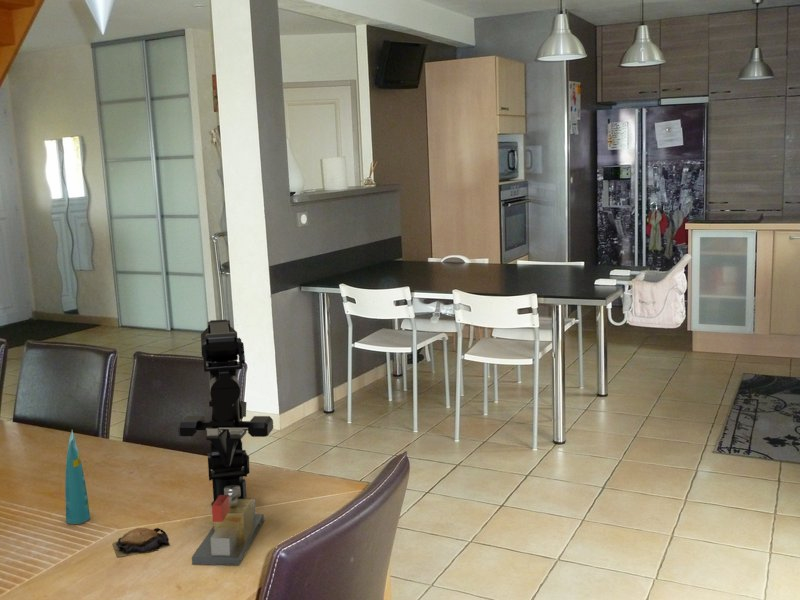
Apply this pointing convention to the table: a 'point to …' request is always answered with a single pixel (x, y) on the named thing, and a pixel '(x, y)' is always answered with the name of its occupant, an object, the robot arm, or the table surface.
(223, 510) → the valve lever
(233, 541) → the valve stand
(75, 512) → the tube
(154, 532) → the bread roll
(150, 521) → the table surface
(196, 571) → the table surface
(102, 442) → the table surface
